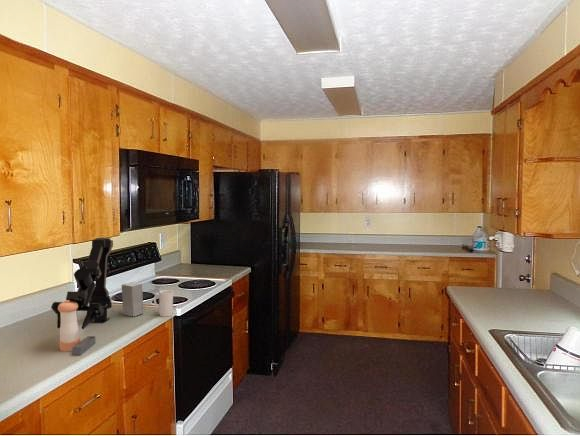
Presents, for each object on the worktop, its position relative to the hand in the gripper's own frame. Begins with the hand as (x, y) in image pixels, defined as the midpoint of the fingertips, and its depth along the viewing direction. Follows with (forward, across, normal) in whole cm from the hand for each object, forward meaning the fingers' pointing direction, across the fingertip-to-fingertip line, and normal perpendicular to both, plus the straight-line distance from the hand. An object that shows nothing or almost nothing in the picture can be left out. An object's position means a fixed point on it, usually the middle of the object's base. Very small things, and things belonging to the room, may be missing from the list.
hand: (70, 328), depth 156 cm
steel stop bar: (+5, +5, +7) cm, 10 cm away
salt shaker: (+5, -1, +8) cm, 9 cm away
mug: (-28, +21, +40) cm, 54 cm away
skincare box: (-27, +6, +40) cm, 49 cm away
